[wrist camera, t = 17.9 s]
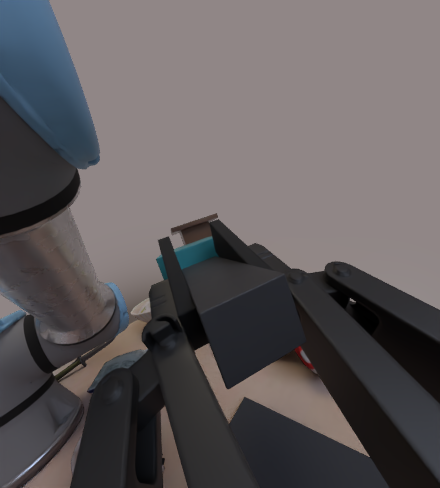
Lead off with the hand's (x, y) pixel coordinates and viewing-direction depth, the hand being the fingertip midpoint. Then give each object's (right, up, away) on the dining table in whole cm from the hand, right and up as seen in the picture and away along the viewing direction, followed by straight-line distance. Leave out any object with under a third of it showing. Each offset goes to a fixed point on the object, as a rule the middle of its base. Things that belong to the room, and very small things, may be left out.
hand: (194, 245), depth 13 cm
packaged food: (-20, -31, +29) cm, 47 cm away
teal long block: (+1, -4, +1) cm, 4 cm away
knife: (-38, -37, +41) cm, 66 cm away
